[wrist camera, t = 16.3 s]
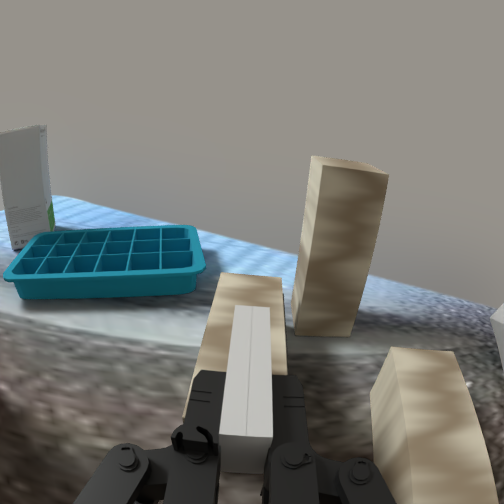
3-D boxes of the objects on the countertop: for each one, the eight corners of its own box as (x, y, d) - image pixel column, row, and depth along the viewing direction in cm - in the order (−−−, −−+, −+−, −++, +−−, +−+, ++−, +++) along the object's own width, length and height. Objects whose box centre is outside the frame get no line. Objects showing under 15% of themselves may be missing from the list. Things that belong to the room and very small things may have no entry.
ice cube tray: (41, 254, 33) (37, 232, 32) (195, 247, 38) (195, 224, 37) (7, 306, 23) (-2, 279, 22) (207, 300, 28) (207, 271, 27)
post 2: (295, 335, 24) (322, 164, 18) (290, 303, 28) (311, 155, 22) (353, 336, 24) (393, 175, 18) (342, 306, 28) (371, 164, 23)
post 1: (182, 417, 12) (221, 272, 23) (190, 461, 14) (219, 320, 25) (296, 427, 12) (285, 277, 23) (281, 469, 13) (278, 325, 25)
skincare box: (52, 244, 35) (41, 124, 28) (9, 252, 32) (-7, 133, 25) (56, 224, 41) (48, 123, 35) (19, 230, 38) (8, 130, 32)
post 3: (413, 566, 5) (391, 346, 17) (366, 580, 7) (368, 395, 18) (508, 539, 4) (456, 351, 16) (451, 565, 6) (429, 398, 18)
